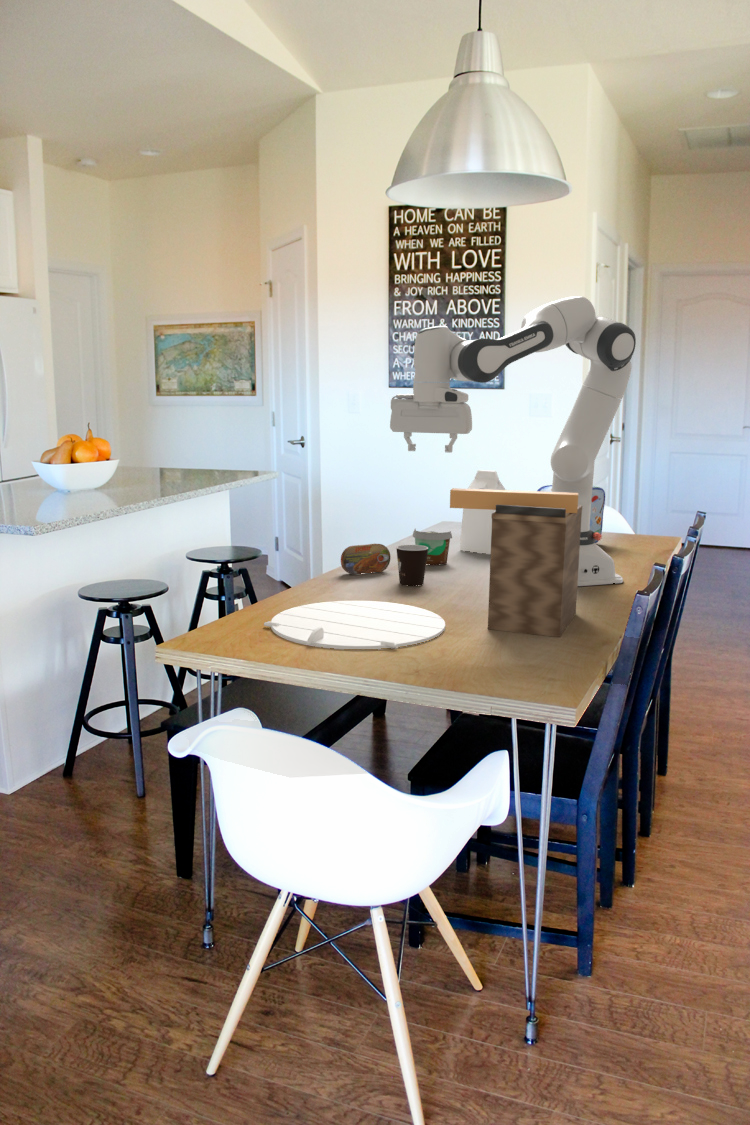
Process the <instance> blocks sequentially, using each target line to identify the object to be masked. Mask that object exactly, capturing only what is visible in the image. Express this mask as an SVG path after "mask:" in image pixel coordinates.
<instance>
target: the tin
mask: <svg viewBox="0 0 750 1125" xmlns="http://www.w3.org/2000/svg"><path fill="white" fill-rule="evenodd" d="M340 555H341V556H340V565H341V568H342V569H343V571H344V572H346V573H348V574H349V575H353V576H355V575H354V574H361V573H371V572H372V573H371V574H374V573H373V572H380V573H383V572H384V571H385V570H386V569H387V568H388V567H389V566H390V562H391V553H390V550H389V549H388V547H387V546H385V545H384V544H382V543H368V544H358V545H350V546H348V547H346V548H344V550H343V551H342V553H341V554H340Z"/></svg>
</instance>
